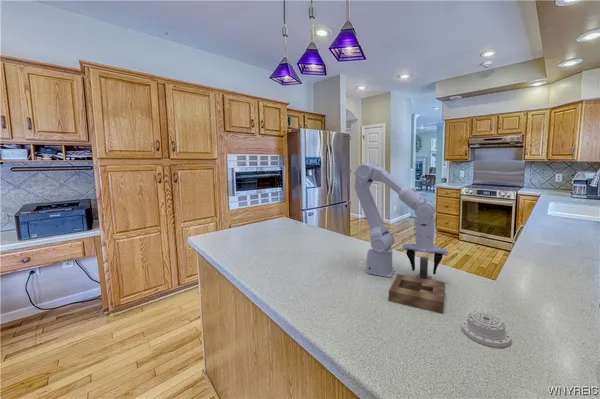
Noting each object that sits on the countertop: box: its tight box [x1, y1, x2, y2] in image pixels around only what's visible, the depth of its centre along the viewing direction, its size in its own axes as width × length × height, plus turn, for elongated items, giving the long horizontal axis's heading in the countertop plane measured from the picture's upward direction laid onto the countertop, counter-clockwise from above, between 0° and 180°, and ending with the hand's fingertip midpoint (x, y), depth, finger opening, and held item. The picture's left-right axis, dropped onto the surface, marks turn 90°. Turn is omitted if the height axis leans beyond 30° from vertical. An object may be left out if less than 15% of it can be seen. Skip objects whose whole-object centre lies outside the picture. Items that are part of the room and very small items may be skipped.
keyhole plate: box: [388, 273, 446, 314], centre depth 83 cm, size 15×14×3 cm
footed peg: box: [415, 256, 433, 280], centre depth 93 cm, size 5×5×9 cm
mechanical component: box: [461, 310, 512, 349], centre depth 64 cm, size 10×4×10 cm
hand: (423, 271), depth 94 cm, fingers open, 6 cm apart
